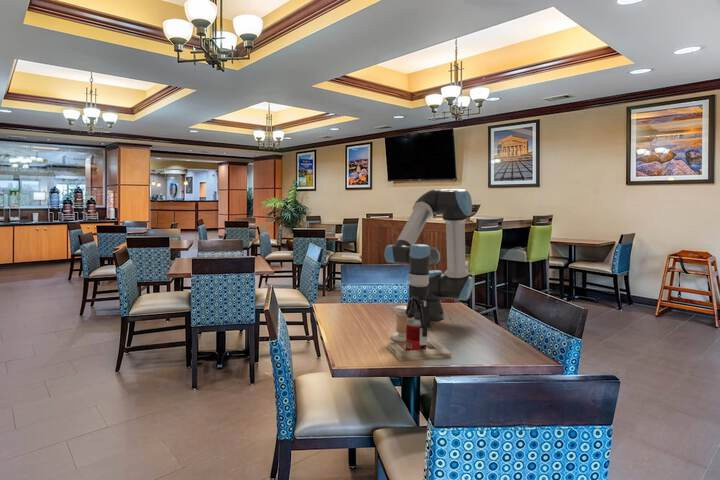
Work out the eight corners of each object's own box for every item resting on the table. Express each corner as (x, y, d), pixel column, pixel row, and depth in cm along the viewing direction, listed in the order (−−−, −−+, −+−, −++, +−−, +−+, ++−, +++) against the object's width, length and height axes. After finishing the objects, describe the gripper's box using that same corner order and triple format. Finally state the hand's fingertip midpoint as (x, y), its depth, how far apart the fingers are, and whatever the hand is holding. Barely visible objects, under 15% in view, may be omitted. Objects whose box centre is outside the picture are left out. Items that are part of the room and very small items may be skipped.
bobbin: (409, 334, 194) (410, 304, 193) (418, 341, 185) (419, 310, 184) (387, 335, 192) (388, 305, 191) (395, 342, 182) (396, 311, 181)
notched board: (434, 344, 181) (435, 340, 180) (451, 357, 166) (451, 352, 166) (387, 347, 176) (387, 342, 175) (400, 360, 161) (400, 355, 161)
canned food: (425, 354, 169) (426, 325, 168) (404, 352, 170) (405, 324, 169) (426, 348, 176) (427, 320, 175) (406, 346, 178) (407, 319, 177)
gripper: (398, 279, 182) (397, 330, 184) (421, 291, 158) (419, 350, 160) (416, 278, 184) (414, 329, 186) (441, 291, 160) (438, 348, 162)
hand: (416, 339), depth 173 cm, fingers open, 13 cm apart
